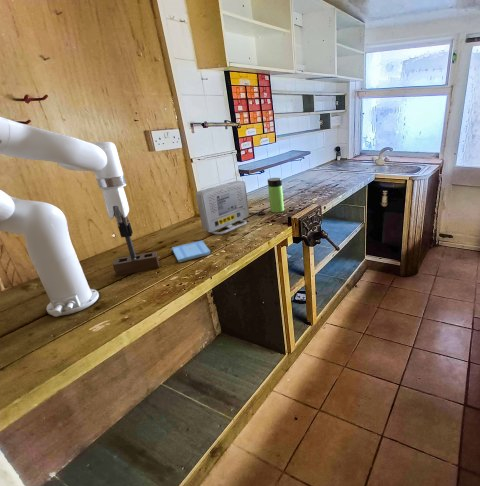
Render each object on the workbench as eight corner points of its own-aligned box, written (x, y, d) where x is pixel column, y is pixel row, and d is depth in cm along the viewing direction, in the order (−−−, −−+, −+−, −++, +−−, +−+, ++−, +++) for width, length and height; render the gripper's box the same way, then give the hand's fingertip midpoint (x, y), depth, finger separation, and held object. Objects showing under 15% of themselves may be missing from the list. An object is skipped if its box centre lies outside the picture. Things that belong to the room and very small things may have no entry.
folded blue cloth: (211, 254, 123) (210, 251, 122) (178, 262, 117) (177, 259, 116) (202, 243, 133) (202, 240, 132) (172, 250, 127) (171, 247, 126)
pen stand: (159, 267, 113) (155, 256, 112) (116, 276, 109) (112, 265, 107) (159, 261, 118) (156, 251, 116) (118, 269, 113) (115, 258, 111)
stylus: (136, 260, 111) (125, 220, 105) (131, 261, 110) (119, 221, 104) (137, 258, 112) (125, 219, 106) (132, 259, 111) (120, 219, 106)
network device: (241, 217, 162) (235, 179, 153) (254, 220, 157) (248, 180, 149) (200, 234, 142) (191, 191, 134) (213, 237, 138) (205, 193, 130)
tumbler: (268, 210, 172) (265, 178, 165) (281, 207, 175) (278, 176, 168) (273, 213, 166) (269, 181, 159) (286, 211, 169) (283, 179, 162)
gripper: (102, 179, 105) (118, 230, 113) (92, 188, 92) (110, 245, 99) (128, 176, 108) (141, 226, 115) (121, 185, 95) (137, 241, 102)
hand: (127, 235), depth 107 cm, fingers closed on stylus, 1 cm apart
